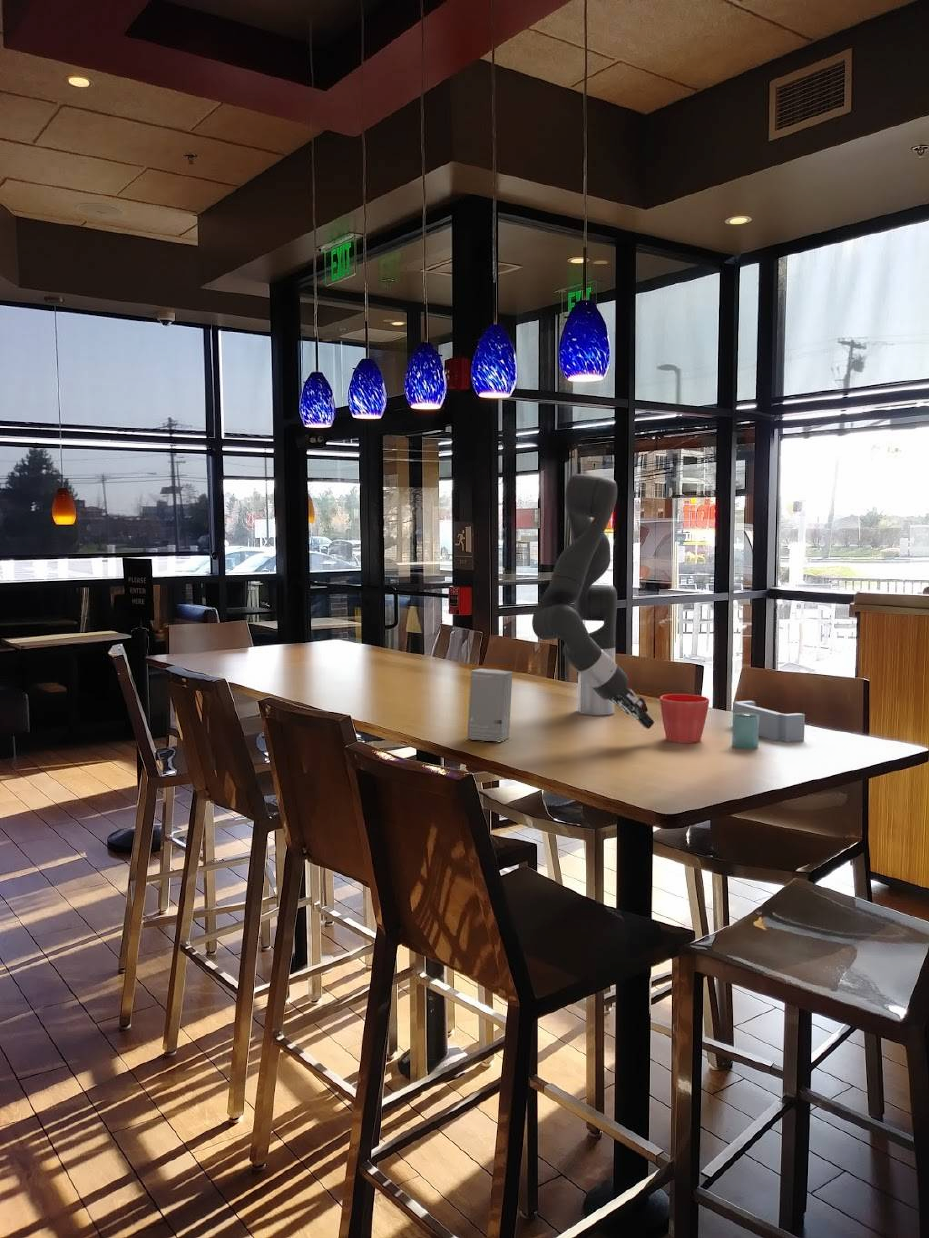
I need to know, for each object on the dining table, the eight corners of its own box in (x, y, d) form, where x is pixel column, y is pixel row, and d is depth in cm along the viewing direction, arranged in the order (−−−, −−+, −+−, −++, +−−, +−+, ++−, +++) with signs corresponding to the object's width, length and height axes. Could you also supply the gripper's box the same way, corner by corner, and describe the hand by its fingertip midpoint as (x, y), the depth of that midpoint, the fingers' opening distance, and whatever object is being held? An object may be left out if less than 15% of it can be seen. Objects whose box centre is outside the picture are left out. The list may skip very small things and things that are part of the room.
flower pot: (709, 745, 222) (710, 702, 221) (658, 743, 224) (659, 700, 223) (707, 736, 232) (708, 694, 232) (659, 734, 235) (660, 693, 234)
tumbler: (735, 749, 219) (736, 716, 218) (728, 743, 224) (729, 712, 224) (761, 749, 219) (762, 716, 218) (753, 743, 224) (754, 712, 224)
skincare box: (467, 740, 226) (467, 671, 225) (477, 735, 233) (478, 667, 231) (502, 743, 223) (503, 673, 222) (512, 737, 230) (513, 669, 228)
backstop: (782, 742, 226) (783, 716, 225) (729, 726, 244) (729, 701, 244) (804, 740, 228) (804, 714, 227) (749, 724, 247) (750, 700, 246)
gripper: (628, 664, 214) (676, 718, 219) (598, 657, 226) (645, 708, 232) (605, 690, 213) (655, 743, 218) (577, 681, 225) (624, 732, 230)
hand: (649, 725), depth 225 cm, fingers closed
